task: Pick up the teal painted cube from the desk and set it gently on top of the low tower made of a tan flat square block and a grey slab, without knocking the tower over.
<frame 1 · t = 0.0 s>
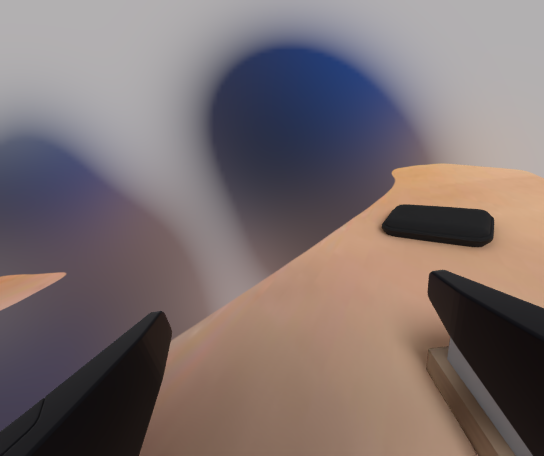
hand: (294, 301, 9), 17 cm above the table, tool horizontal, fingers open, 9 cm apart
tan flat square block: (539, 430, 18), on the table, touching grey slab
carrying case or bag: (434, 231, 44), on the table
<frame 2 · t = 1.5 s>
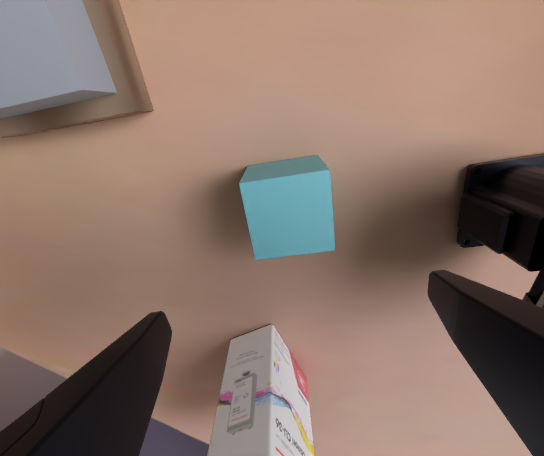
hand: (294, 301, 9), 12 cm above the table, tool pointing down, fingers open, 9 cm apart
grey slab: (14, 25, 14), point 2 cm above the table, touching tan flat square block
tan flat square block: (55, 39, 17), on the table, touching grey slab
ink cartridge box: (270, 356, 27), on the table
teal cube: (287, 193, 20), on the table
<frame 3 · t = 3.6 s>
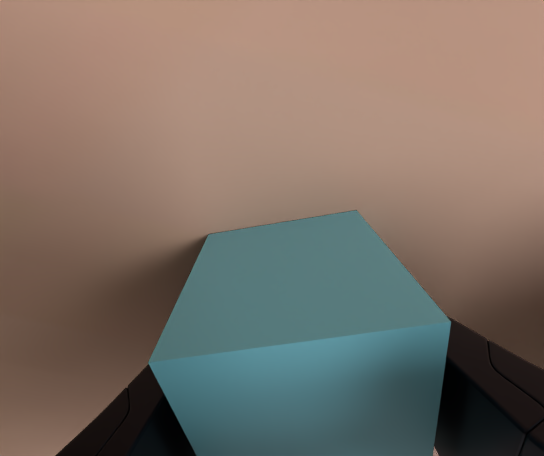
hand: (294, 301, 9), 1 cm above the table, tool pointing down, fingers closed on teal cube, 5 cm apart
teal cube: (291, 283, 10), on the table, touching gripper
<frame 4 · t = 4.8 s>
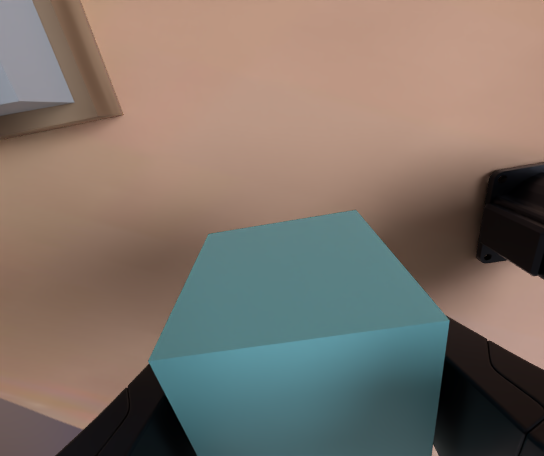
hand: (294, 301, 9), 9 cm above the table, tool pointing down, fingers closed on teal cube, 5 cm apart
teal cube: (291, 282, 10), point 8 cm above the table, touching gripper
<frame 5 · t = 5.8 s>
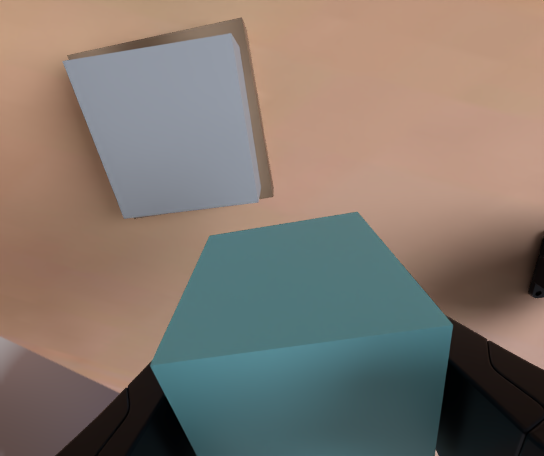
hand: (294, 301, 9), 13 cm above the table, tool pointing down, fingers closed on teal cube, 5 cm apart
grey slab: (187, 133, 17), point 2 cm above the table, touching tan flat square block
tan flat square block: (193, 129, 19), on the table, touching grey slab
teal cube: (292, 284, 10), point 12 cm above the table, touching gripper
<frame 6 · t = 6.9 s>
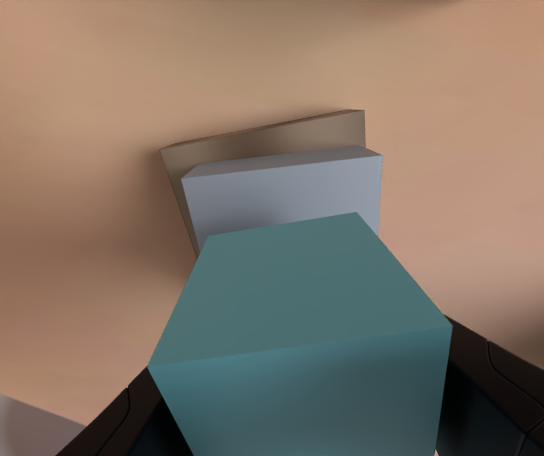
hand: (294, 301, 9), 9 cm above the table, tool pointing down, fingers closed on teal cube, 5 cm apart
grey slab: (285, 227, 15), point 2 cm above the table
tan flat square block: (275, 205, 18), on the table
teal cube: (291, 284, 10), point 8 cm above the table, touching gripper
when the fingers open (8 cm above the table, at t = 7.8 s): teal cube drops 2 cm, resting on grey slab.
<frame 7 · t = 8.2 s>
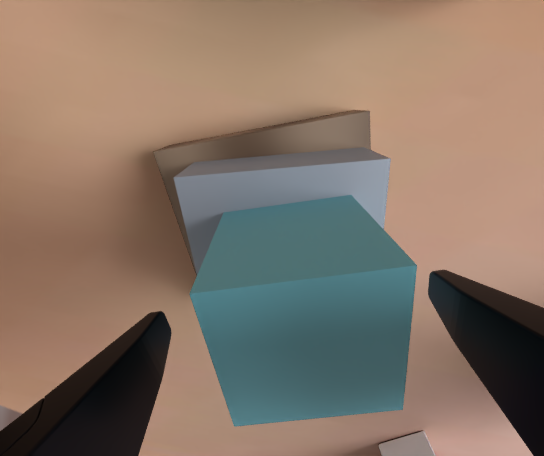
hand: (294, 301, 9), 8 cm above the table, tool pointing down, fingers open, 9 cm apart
grey slab: (283, 231, 14), point 2 cm above the table, touching teal cube, tan flat square block
tan flat square block: (275, 210, 17), on the table, touching grey slab
ink cartridge box: (410, 454, 28), on the table
teal cube: (293, 258, 11), point 5 cm above the table, touching grey slab
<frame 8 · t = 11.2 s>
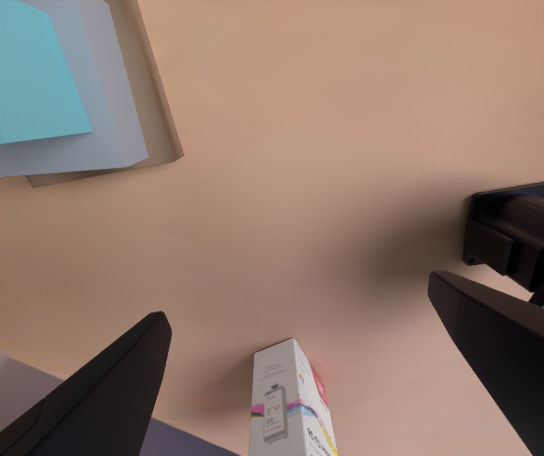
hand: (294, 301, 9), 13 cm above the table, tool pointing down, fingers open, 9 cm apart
grey slab: (64, 94, 16), point 2 cm above the table, touching teal cube, tan flat square block
tan flat square block: (95, 94, 19), on the table, touching grey slab
ink cartridge box: (290, 367, 29), on the table
teal cube: (22, 84, 13), point 5 cm above the table, touching grey slab
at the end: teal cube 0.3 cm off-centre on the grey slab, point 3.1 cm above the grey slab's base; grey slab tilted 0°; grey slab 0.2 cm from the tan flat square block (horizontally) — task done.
